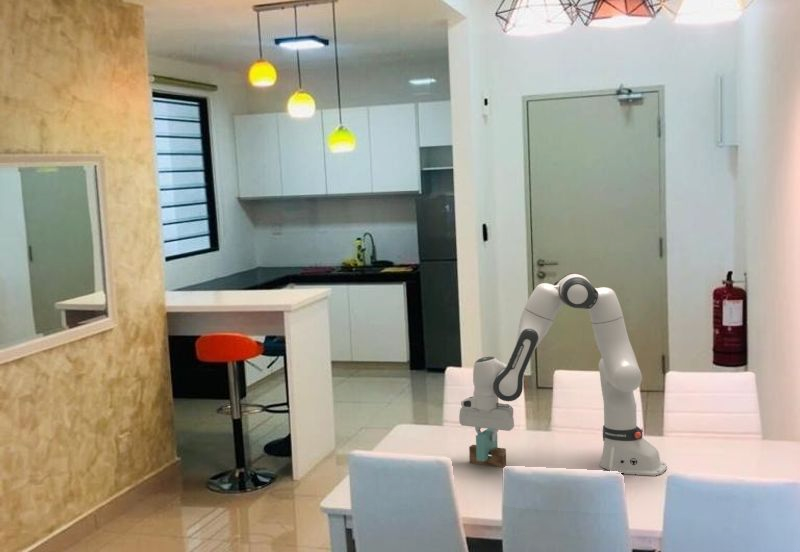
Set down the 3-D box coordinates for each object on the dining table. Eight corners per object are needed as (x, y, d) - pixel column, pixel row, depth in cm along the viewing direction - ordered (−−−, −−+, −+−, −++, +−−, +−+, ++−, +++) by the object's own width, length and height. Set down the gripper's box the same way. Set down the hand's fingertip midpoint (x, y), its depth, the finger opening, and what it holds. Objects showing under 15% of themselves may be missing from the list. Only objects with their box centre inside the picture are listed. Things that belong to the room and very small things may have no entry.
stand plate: (506, 464, 306) (505, 448, 306) (503, 467, 304) (502, 450, 303) (473, 460, 313) (472, 444, 312) (469, 462, 310) (469, 446, 310)
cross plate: (490, 451, 314) (489, 427, 313) (497, 452, 312) (497, 428, 311) (476, 460, 303) (475, 435, 303) (484, 461, 302) (483, 436, 301)
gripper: (516, 402, 304) (517, 440, 305) (464, 397, 314) (465, 434, 315) (509, 406, 298) (510, 445, 299) (456, 401, 308) (457, 439, 310)
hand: (486, 439), depth 307 cm, fingers closed on cross plate, 3 cm apart
